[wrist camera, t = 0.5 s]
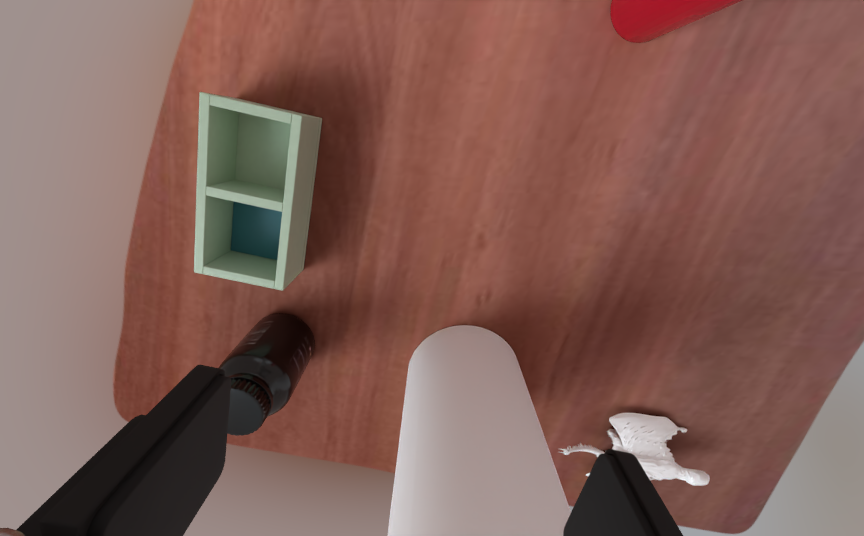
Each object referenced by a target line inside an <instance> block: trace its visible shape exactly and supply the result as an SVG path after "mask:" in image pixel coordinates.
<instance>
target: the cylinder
mask: <svg viewBox="0 0 864 536" xmlns="http://www.w3.org/2000/svg"><path fill="white" fill-rule="evenodd" d="M570 514H571V511H570V508H569V505H568V503H567V500H566V497H565V494H564V491H563V488H562V486H561V483H560V480H559V477H558V474H557V471H556V468H555V466H554V463H553V460H552V457H551V454H550V451H549V449H548V446H547V443H546V440H545V437H544V434H543V431H542V429H541V426H540V423H539V420H538V417H537V414H536V412H535V409H534V406H533V403H532V400H531V397H530V395H529V392H528V389H527V386H526V383H525V380H524V377H523V375H522V372H521V369H520V366H519V363H518V360H517V358H516V355H515V353H514V351H513V350H512V348H511V347H510V346H509V344H508V343H507V342H506V341H505V340H504V339H503V338H501V337H500V336H499V335H497V334H495V333H494V332H492V331H490V330H487V329H484V328H481V327H477V326H470V325H459V326H452V327H448V328H444V329H442V330H439V331H437V332H435V333H433V334H432V335H430V336H429V337H427V338H426V339H425V340H424V341H423V342H422V343H421V344H420V345H419V346H418V347H417V348H416V350H415V351H414V353H413V355H412V357H411V360H410V363H409V367H408V375H407V383H406V391H405V399H404V407H403V415H402V423H401V431H400V439H399V447H398V456H397V464H396V472H395V480H394V488H393V496H392V504H391V512H390V520H389V529H388V536H563V531H564V527H565V524H566V522H567V520H568V518H569V516H570Z"/></svg>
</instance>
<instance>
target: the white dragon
mask: <svg viewBox="0 0 864 536" xmlns="http://www.w3.org/2000/svg"><path fill="white" fill-rule="evenodd" d="M609 421H610V423H611V424H612V426H613V427H614V428H615V429H616V430H615V429H609V430H608V431H606V432H609V433H607V434H609V435H611V436H609V437H612V438H611V439H612V440H613V443H612V444H614V446H613V448H612V449H613V450H618V451H622V452H627V453H632V454H633V455H635V457H636V458H637V459H638V461H639V463H640V464H641V466H642V468H643V469H644V471H645V473H646V474H647V476H648V478H649V479H650V480H653V479H655V480H656V479H658V480H662V479H668V480H671V479H675V478H678V479H681V480H686V482H687V483H690V484H691V485H707V484H708V483H709V480H710V477H709V475H708V474H706V473H705V472H704V471H702V470H695V469H686V468H683V467H680V465H677V463H675V462H674V460H675V459H673V457H671V456H673V454H672V453H670V452H669V451H670V449H669V448H667V447H666V445H667V444H666V443H664V442H667V441H666V440H670V439H672V435H676V434H677V431H678V430H680V431H681V432H683V433H684V432H687V429H685V428H683V427H681V428H680V427H677V426H676V425H675V424H674V423H673V422H672V421H671V420H670V419H668V418H667V417H660V416H651V415H645V414H639V413H620V414H617V415H615V416H612V417H610V419H609ZM617 434H619V435H617ZM619 436H620V437H619ZM580 443H581V442H580ZM569 447H570V446H569ZM558 449H559V448H558ZM561 450H564V452H560V453H564V455H569V453H571V452H575V451H586V452H590V453H594V454H596V457H598V456H599V455H600V454H604V452H603V451H601V450H600V449H599V450H598V449H597V448H596V447H593V448H592V446H591V445H590V447H589V445H588V447H587V446H586V445H584V446H583V445H582V444H580V446H579V445H578V447H577V445H576V446H573V448H571V447H570V449H569V448H568V447H567V450H566V449H561ZM605 452H606V450H605ZM589 474H590V473H588V474H586V476H589Z"/></svg>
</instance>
